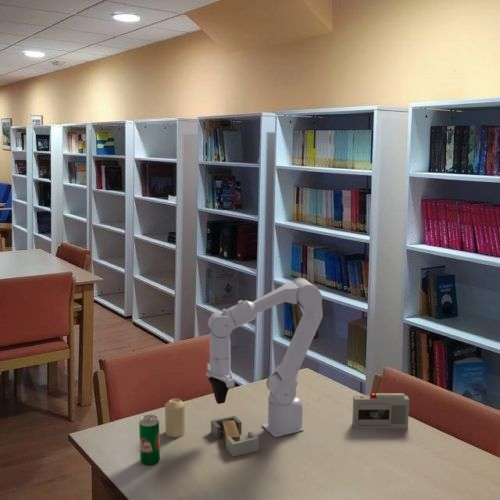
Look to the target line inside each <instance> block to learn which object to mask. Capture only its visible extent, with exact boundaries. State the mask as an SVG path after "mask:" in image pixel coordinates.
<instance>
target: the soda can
mask: <svg viewBox="0 0 500 500" xmlns="http://www.w3.org/2000/svg"><path fill="white" fill-rule="evenodd" d="M139 420H140V421H139V422H138V429H139V431H138V432H139V461H140V463H141V464H142V465H144V466H148V467H150V466H151V467H152V466H156V465H157V464H158V463H159V462H160V460H161V449H160V448H161V447H160V446H161V445H160V443H161V440H160V420H159V419H158V416H156V415H155V414H146V415H143V416H141V417H140V419H139Z"/></svg>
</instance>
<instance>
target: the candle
mask: <svg viewBox="0 0 500 500" xmlns="http://www.w3.org/2000/svg"><path fill="white" fill-rule="evenodd" d="M185 405H186V404H185V402H183V401H182V400H181V399H180V398H177V397H174V398H171V399H169V400H168V401H167V402H166V403H165V404H164V418H165V419H164V420H165V421H164V422H165V425H164V426H165V436H167V437H169V438H180V437H182V436H184V435H185V433H186V410H185V409H186V406H185Z"/></svg>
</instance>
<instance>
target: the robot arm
mask: <svg viewBox="0 0 500 500" xmlns="http://www.w3.org/2000/svg"><path fill="white" fill-rule="evenodd" d="M323 297H324V296H323V295H322V293H321V291H320V289H319V288H318V287H317V286H316V285H315V284H312V283H311V282H309V281H308V280H307V279H306V278H303V277H298V278H294V279H292V281H287V282H285V283H284V284H283V285H281V286H279V287H277V288H275V289H274V290H272V291H270V292H268V293H266V294H265V295H263V296H261V297H258V298H257V299H256V300H253V301H249V300H246V299H245V300H242V299H240V300H238V301H237V304H235V305H233V306H231V307H228V308H227V309H226V308H222V311H215V312H213V313H211V315H210V316H209V317H208V321H207V326H208V328H209V330H210V331H209V333H210V334H209V362H207V363H206V370H207V371H206V372H205V376H207V377H208V382H209V383H210V385H211V388H212V391H213V395H214V399H215V402H216V404H218V405H221V404H225V403H226V400H227V396H228V392H229V389H230V388H234V387H235V379H234V377H233V373H232V369H231V365H232V364H231V363H232V362H231V361H232V360H231V334H232V332H233V330H235V329H237V328H239V327H241V326H243V325H246V324H248V323H249V322H251V321H254V320H256V318H257V315H258V314H259V313H261V312H263V311H266V310H268V309H271V308H273V307H276V306H277V305H279V304H282V303H288V304H292V305H297V304H298V307H299V309H300V311H301V313H302V316H301V317H300V318H301V319H300V320H299V322H298V325H297V326H296V329H295V331H294V334H293V337H292V338H291V341H290V343H289V345H288V347H287V350H286V352H285V354H284V356H283V359H282V361H281V363H280V364H279V365H277V366H276V367H274V370H273V372H272V373H271V374H270V375H269V376H268V377H267V379H266V383H265V384H266V388H267V390H268V391H269V394H268V397H267V400H268V401H267V403H268V404H267V406H268V407H267V413H268V414H267V422H266V423H263V424H262V427H263V428H264V429H265V430H266V431H267V432H269V434H271V436H273V437H274V438H277V437H283V436H287V435H290V434H295V433H299V432H303V431H304V428H303V405H302V401H301V400H300V399H299V397H298V396H297V395H296V394H297V386H298V383H299V376H298V374H299V372H300V369H301V366H302V364H303V362H304V360H305V358H306V355H307V353H308V350H309V348H310V347H311V344H312V342H313V340H314V337H315V335H316V333H317V331H318V329H319V326H320V324H321V322H322V319H323V317H324V316H323V315H324V313H323V302H322V301H323Z"/></svg>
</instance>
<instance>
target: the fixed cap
mask: <svg viewBox="0 0 500 500" xmlns="http://www.w3.org/2000/svg"><path fill="white" fill-rule="evenodd" d="M230 420H235V423H236V426H237V429H238V432H239V435H240V434H241V435H242V434H243V433H242V421H241V420H240V419H239V418H238V417H237V416H236V415H231V416H227V417H221V418H218V419H213V420H210V433H211V434H212V435H213V437H215V439H217V440H220V439H221V433H223V432H222V421H230Z"/></svg>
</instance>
